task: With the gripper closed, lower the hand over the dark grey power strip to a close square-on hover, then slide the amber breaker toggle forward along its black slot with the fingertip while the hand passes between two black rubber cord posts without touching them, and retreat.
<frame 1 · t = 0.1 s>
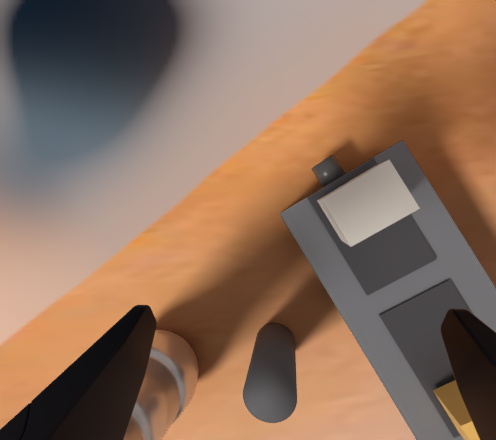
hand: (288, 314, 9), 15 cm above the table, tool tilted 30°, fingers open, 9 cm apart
toggle ivory: (362, 204, 17), point 6 cm above the table, slide at 3.5 cm
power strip: (401, 297, 23), on the table
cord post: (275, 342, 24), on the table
toggle amber: (493, 414, 16), point 6 cm above the table, slide at 0.0 cm
plastic bottle: (170, 357, 26), on the table
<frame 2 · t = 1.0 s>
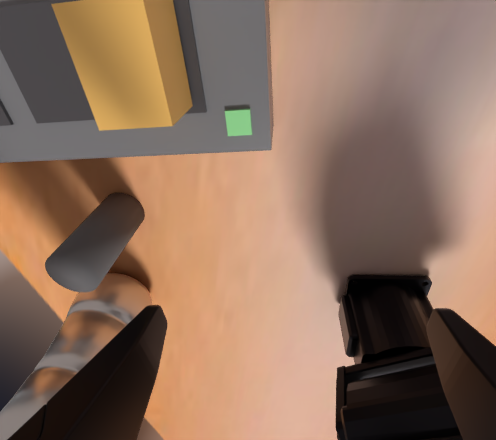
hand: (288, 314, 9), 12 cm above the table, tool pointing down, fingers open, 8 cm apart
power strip: (89, 58, 17), on the table
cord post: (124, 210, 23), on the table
toggle amber: (135, 64, 11), point 6 cm above the table, slide at 0.0 cm
plastic bottle: (126, 286, 29), on the table
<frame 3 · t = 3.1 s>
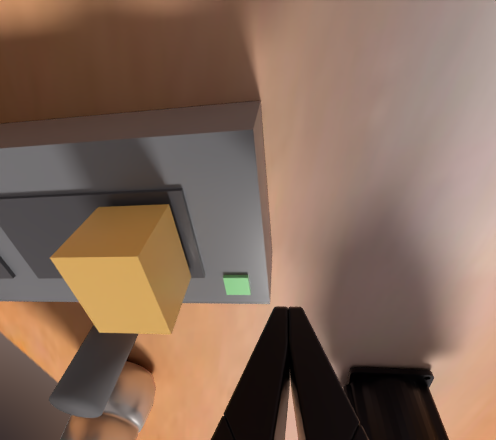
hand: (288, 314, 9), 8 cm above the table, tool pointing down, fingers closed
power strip: (88, 196, 17), on the table
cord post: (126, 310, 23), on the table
toggle amber: (133, 269, 11), point 6 cm above the table, slide at 0.0 cm
plastic bottle: (130, 366, 29), on the table
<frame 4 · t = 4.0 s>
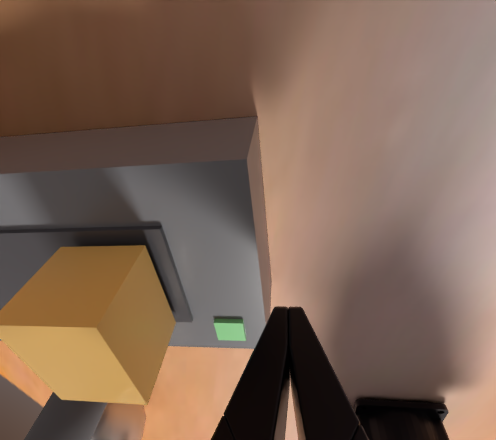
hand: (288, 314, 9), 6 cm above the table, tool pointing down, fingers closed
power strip: (63, 221, 15), on the table
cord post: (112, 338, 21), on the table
toggle amber: (102, 323, 9), point 6 cm above the table, slide at 0.0 cm
plastic bottle: (119, 392, 27), on the table
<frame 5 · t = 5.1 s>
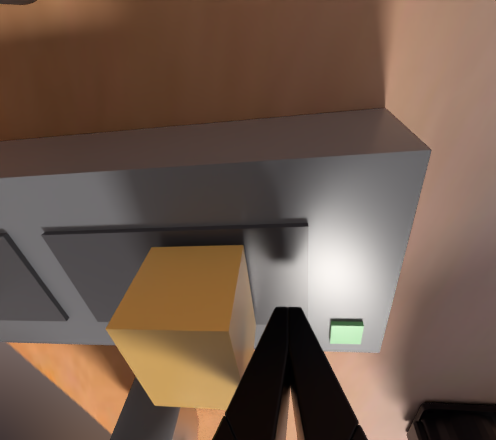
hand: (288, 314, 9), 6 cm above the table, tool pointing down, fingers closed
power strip: (149, 220, 15), on the table
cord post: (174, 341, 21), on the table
toggle amber: (198, 326, 9), point 6 cm above the table, slide at 1.5 cm, touching gripper
plastic bottle: (168, 396, 26), on the table
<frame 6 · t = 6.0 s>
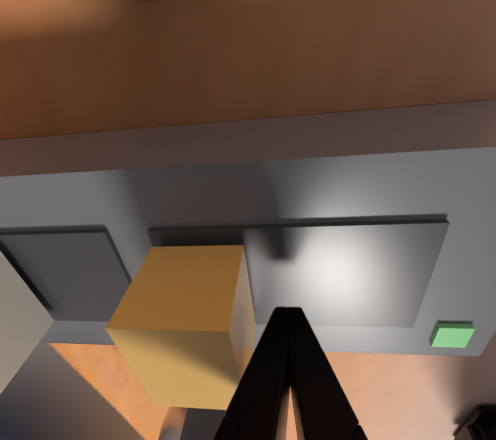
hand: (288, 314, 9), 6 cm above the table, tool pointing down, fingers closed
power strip: (224, 217, 14), on the table
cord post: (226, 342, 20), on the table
toggle amber: (198, 326, 9), point 6 cm above the table, slide at 5.4 cm, touching gripper
plastic bottle: (209, 398, 26), on the table
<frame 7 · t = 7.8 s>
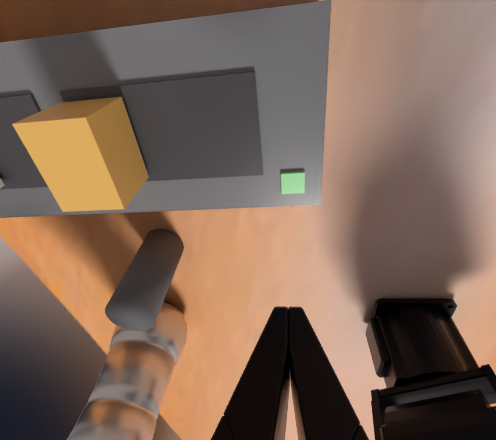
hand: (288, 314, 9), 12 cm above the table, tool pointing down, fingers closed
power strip: (141, 114, 18), on the table
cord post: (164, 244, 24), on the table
toggle amber: (91, 154, 13), point 6 cm above the table, slide at 5.5 cm
plastic bottle: (161, 310, 30), on the table
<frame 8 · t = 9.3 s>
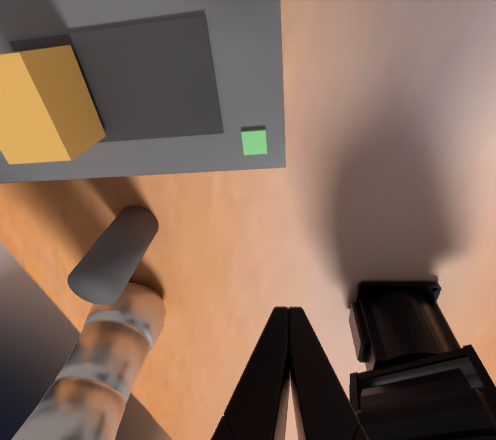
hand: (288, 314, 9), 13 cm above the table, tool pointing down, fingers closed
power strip: (106, 79, 17), on the table
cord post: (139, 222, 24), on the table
toggle amber: (39, 105, 13), point 6 cm above the table, slide at 5.5 cm
plastic bottle: (140, 294, 29), on the table
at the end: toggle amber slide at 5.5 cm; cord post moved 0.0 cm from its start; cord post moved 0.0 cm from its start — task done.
